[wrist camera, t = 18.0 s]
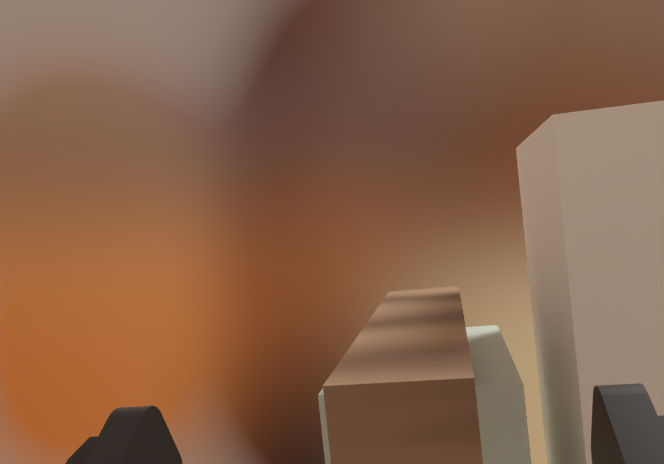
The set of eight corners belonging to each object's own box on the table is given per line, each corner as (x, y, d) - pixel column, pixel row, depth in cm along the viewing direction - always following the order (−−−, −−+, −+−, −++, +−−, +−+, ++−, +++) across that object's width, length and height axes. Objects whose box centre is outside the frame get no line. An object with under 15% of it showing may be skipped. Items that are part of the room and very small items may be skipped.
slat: (393, 334, 36) (389, 291, 36) (462, 329, 36) (458, 286, 36) (332, 477, 17) (322, 386, 17) (483, 473, 16) (474, 377, 16)
